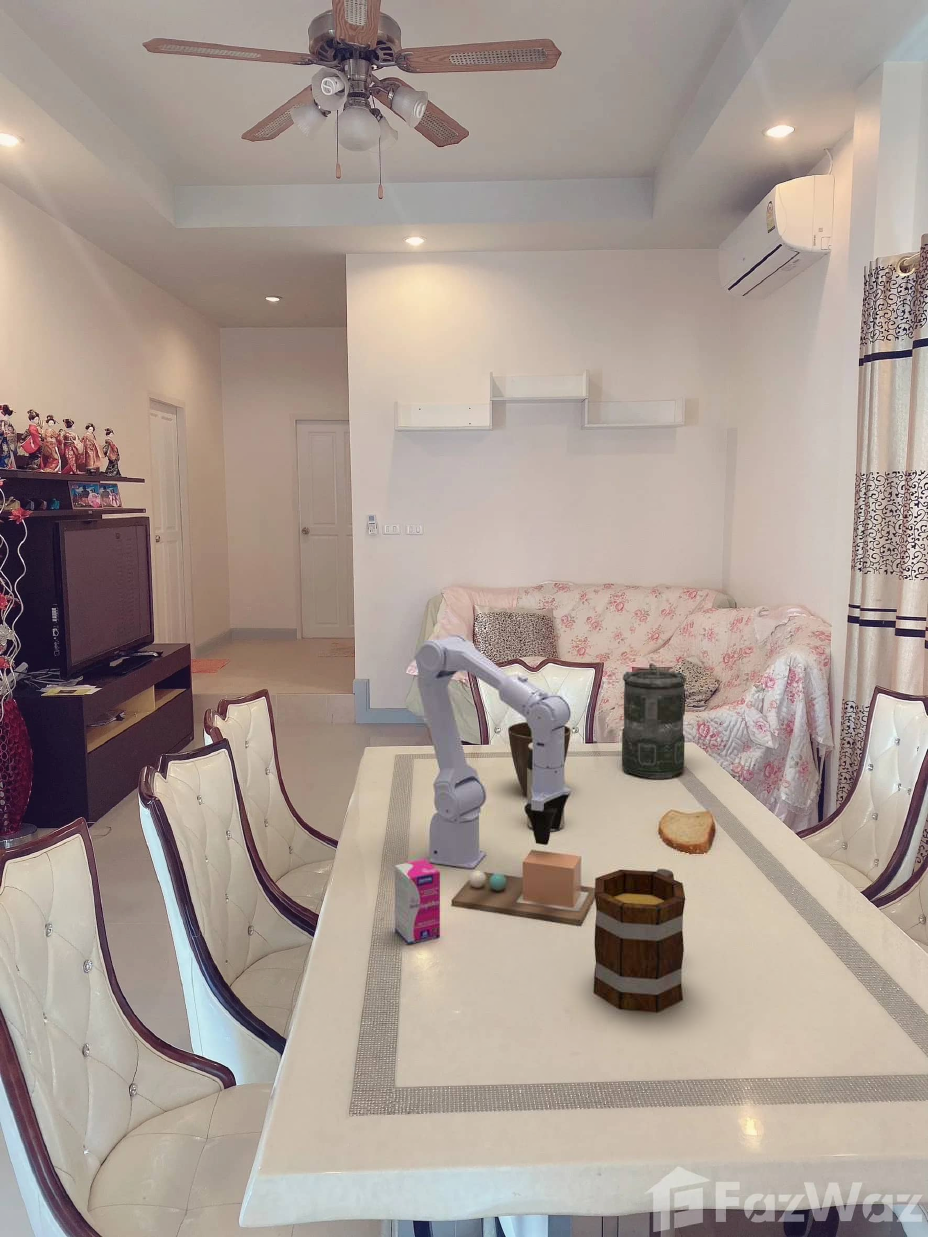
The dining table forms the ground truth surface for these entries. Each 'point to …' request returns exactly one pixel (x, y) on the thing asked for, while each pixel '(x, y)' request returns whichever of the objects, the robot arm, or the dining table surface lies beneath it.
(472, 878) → the cream marble
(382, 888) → the dining table surface
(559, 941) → the dining table surface
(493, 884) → the teal marble
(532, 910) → the walnut board
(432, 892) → the supplement box
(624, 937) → the mug
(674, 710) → the canister
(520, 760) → the plant pot
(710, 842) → the slice of bread
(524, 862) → the terracotta cover
